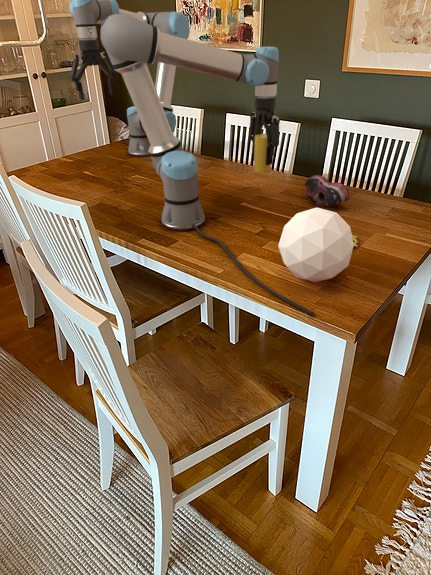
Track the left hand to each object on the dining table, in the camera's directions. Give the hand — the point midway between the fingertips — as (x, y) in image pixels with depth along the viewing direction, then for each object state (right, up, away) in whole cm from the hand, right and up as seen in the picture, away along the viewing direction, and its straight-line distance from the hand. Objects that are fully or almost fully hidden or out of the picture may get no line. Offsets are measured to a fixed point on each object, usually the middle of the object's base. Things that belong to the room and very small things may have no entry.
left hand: (97, 97), depth 185 cm
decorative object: (+86, -64, -43) cm, 116 cm away
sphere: (+77, -77, -62) cm, 125 cm away
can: (+67, -35, -16) cm, 78 cm away
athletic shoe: (+90, -47, -17) cm, 103 cm away
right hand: (+67, -32, -18) cm, 77 cm away
